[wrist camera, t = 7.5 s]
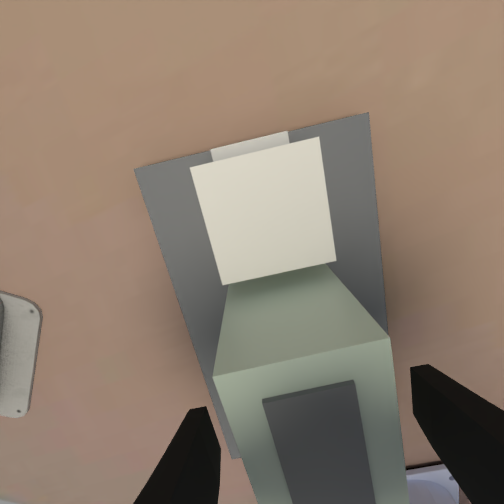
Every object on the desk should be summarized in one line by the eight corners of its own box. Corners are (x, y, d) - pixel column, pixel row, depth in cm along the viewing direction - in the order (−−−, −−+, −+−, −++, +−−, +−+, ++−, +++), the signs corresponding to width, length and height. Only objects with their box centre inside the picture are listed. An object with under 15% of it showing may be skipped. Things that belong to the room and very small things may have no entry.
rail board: (387, 413, 18) (432, 490, 14) (232, 441, 19) (228, 524, 14) (357, 117, 13) (415, 87, 8) (143, 169, 13) (91, 166, 9)
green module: (338, 366, 15) (414, 528, 8) (262, 383, 15) (274, 553, 8) (317, 253, 13) (393, 341, 6) (230, 274, 13) (211, 381, 6)
